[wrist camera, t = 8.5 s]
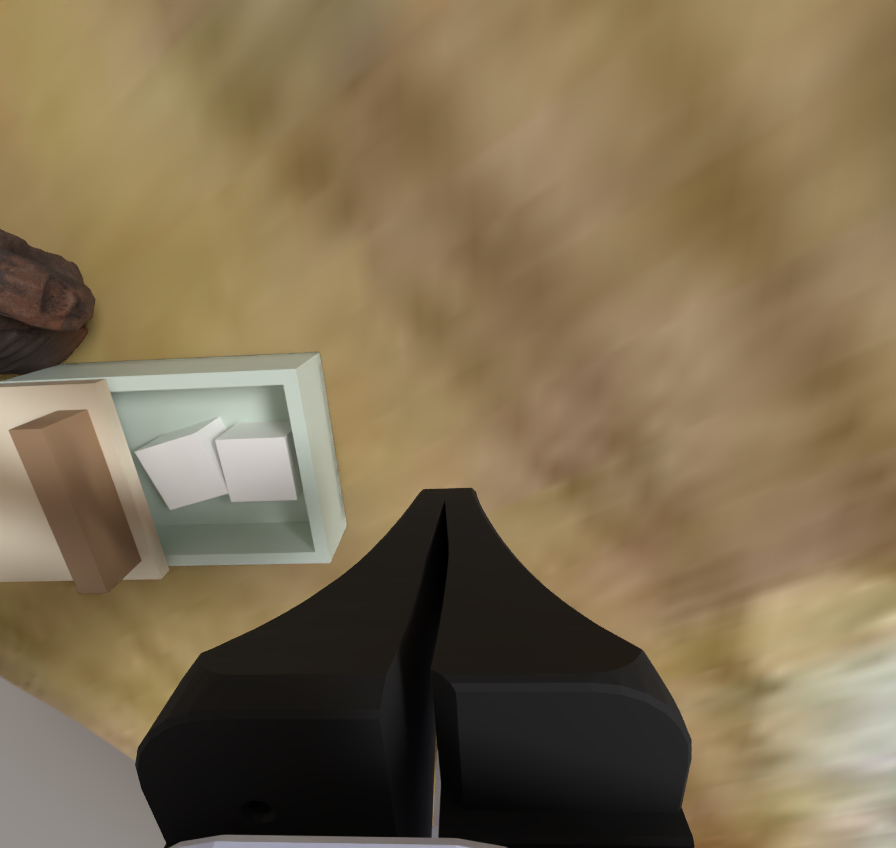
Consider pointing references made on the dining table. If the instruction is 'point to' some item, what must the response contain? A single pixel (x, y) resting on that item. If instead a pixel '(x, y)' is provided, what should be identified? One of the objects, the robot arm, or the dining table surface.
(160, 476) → the white block
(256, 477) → the white block
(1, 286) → the brown figurine
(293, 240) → the dining table surface
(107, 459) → the lid
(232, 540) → the box
